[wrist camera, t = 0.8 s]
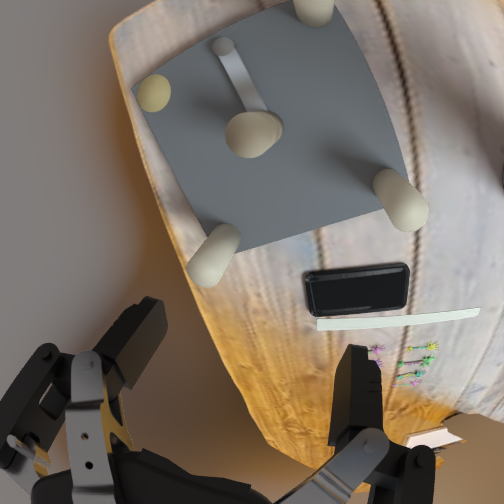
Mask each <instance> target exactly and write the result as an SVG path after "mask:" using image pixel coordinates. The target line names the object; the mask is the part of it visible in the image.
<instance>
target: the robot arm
mask: <svg viewBox="0 0 504 504" xmlns="http://www.w3.org/2000/svg"><path fill="white" fill-rule="evenodd" d="M503 184H504V170H503ZM167 328H168V323H167V318H166V313H165V307H164V303H163V301H162V300H159V299H156V298H152V297H149V296H146V297H144V298H143V300H142V301H141V302H140V303H139V304H138V305H137V304H133V305H132V306H130V307H128V308H127V309H125V310H124V311H123V313H122V314H121V315H120V316H119V317H118V319H117V320H116V321H115V322H114V323H113V326H111V327H110V328H109V330H108V331H107V332H106V333H105V335H104V336H103V337H102V338H101V340H100V341H99V342H98V344H97V345H96V346H95V347H94V348H93V349H92V350H86V351H82V352H80V353H78V354H77V355H71V354H66V353H61V352H60V351H59V349H58V348H57V346H56V345H54V344H52V343H45V344H43V345H41V346H40V347H38V348H37V350H36V351H35V352H34V354H33V355H32V356H31V358H30V359H29V360H28V362H27V363H26V364H25V366H24V367H23V368H22V370H21V371H20V373H19V374H18V375H17V377H16V378H15V380H14V381H13V383H12V384H11V386H10V387H9V389H8V390H7V392H6V393H5V395H4V396H3V398H2V399H1V401H0V469H2V470H3V471H5V472H6V473H7V474H8V475H9V476H10V477H11V478H12V479H13V480H14V481H15V482H16V483H17V484H18V485H20V486H21V487H22V488H23V489H24V490H25V491H26V492H27V493H28V494H30V495H31V504H272V503H271V502H270V501H269V500H268V499H267V498H266V497H265V496H263V495H262V494H261V493H259V492H257V491H256V490H253V489H251V485H250V484H246V483H242V482H237V481H233V480H230V479H226V478H219V477H206V476H196V475H192V474H189V473H188V472H186V471H185V470H183V469H182V468H180V467H179V466H177V465H176V464H174V463H173V462H171V461H170V460H169V459H167V458H164V457H162V456H160V455H158V454H155V453H153V452H151V451H148V450H146V449H144V448H143V449H142V451H141V452H139V451H134V447H133V443H132V440H131V437H130V435H129V433H128V431H127V428H126V423H125V418H124V412H123V406H122V399H121V393H120V391H121V389H122V387H123V386H124V387H126V388H128V389H130V390H131V389H132V388H133V386H134V385H135V383H136V381H137V380H138V378H139V377H140V375H141V373H142V372H143V370H144V369H145V367H146V365H147V364H148V362H149V360H150V359H151V357H152V356H153V354H154V353H155V351H156V350H157V348H158V346H159V345H160V343H161V342H162V340H163V338H164V337H165V335H166V332H167ZM50 383H51V384H52V386H51V387H50V389H49V391H48V392H47V394H46V395H45V397H44V398H43V400H42V401H41V403H40V405H39V401H40V399H41V397H42V396H43V394H44V393H45V391H46V389H47V388H48V386H49V385H50ZM381 383H382V381H381V370H380V368H379V366H378V364H377V362H376V361H374V360H368V349H367V347H366V346H360V345H353V344H349V345H348V346H347V348H346V350H345V352H344V354H343V356H342V358H341V360H340V362H339V364H338V366H337V369H336V373H335V380H334V392H333V403H332V413H331V422H330V431H329V438H328V446H335V451H334V455H333V456H332V457H331V458H329V459H328V460H327V461H326V462H325V463H324V464H323V465H322V466H321V467H319V468H318V469H317V470H316V471H315V472H314V473H312V474H311V475H310V476H309V477H308V478H306V479H305V480H304V481H303V482H301V483H300V484H299V485H298V486H296V487H295V488H293V489H292V490H291V491H289V492H288V493H286V494H285V495H284V496H282V497H281V498H280V499H278V500H277V501H275V502H274V503H273V504H346V503H347V502H348V500H349V499H350V495H351V494H352V493H353V491H354V490H355V489H356V488H357V487H358V486H359V485H360V484H361V483H362V482H365V483H368V484H371V487H370V493H369V498H368V503H367V504H432V503H433V494H434V483H435V464H436V458H435V454H434V452H433V450H432V449H431V448H430V447H428V446H426V445H418V446H415V447H413V448H412V449H411V448H407V447H404V446H401V445H399V444H396V443H394V442H392V441H391V440H389V439H388V437H387V435H386V434H385V433H384V430H383V405H382V385H381ZM65 419H66V432H67V444H68V452H69V460H70V467H71V469H69V470H66V471H62V472H59V473H55V474H51V475H48V474H47V468H49V467H50V466H51V461H50V459H49V455H48V453H47V452H48V450H49V448H50V447H51V445H52V443H53V441H54V439H55V437H56V435H57V434H58V432H59V430H60V428H61V426H62V425H63V423H64V421H65Z"/></svg>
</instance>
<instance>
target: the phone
mask: <svg viewBox="0 0 504 504" xmlns="http://www.w3.org/2000/svg"><path fill="white" fill-rule="evenodd" d="M409 276H410V270H409V268H408V266H407V265H406V264H404V263H399V264H390V265H380V266H371V267H361V268H351V269H340V270H329V271H318V272H310V273H309V274H307V276H306V280H305V284H306V290H307V296H308V303H309V310H310V314H311V315H313V316H315V317H323V316H337V315H349V314H360V313H371V312H380V311H389V310H398V309H402V308H403V307H404V306H405V305H406V303H407V295H408V286H409Z"/></svg>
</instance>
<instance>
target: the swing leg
mask: <svg viewBox="0 0 504 504" xmlns="http://www.w3.org/2000/svg"><path fill="white" fill-rule="evenodd" d="M212 50H213V52H214V53H215V54H216V55H218V56H219V58H220V60H221V62H222V64H223V65H224V67H225V69H226V71H227V73H228V75H229V77H230V79H231V81H232V83H233V84H234V86H235V88H236V90H237V92H238V94H239V96H240V98H241V100H242V102H243V104H244V106H245V108H246V110H247V112H245V113H241V114H238V115H236V116H235V117H233V118H232V119H231V120H230V121H229V123H228V125H227V127H226V130H225V139H226V143H227V145H228V147H229V148H230V150H231V151H232V152H234V153H235V154H236V155H238V156H240V157H244V158H254V157H258V156H260V155H262V154H263V153H264V152H265V151H267V150H268V149H269V148H270V147H271V146H272V145H273V144H275V143H276V142H277V141H278V140H279V139H280V138H281V137H282V135H283V132H284V124H283V121H282V119H281V118H280V117H279V116H278V115H277V114H276V113H274V112H271V111H268V110H267V108H266V106H265V104H264V102H263V100H262V98H261V96H260V94H259V92H258V90H257V88H256V86H255V84H254V82H253V80H252V78H251V76H250V74H249V72H248V70H247V68H246V67H245V65H244V63H243V61H242V59H241V57H240V55H239V54H238V52H237V50H236V45H235V43H234V42H233V41H232V40H231V39H229V38H227V37H221V38H218V39H217V40H215V41H214V43H213V45H212Z"/></svg>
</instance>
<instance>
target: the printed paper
mask: <svg viewBox="0 0 504 504" xmlns="http://www.w3.org/2000/svg"><path fill="white" fill-rule="evenodd" d="M480 309H481V307H480V308H473V309H465V310H457V311H448V312H439V313H428V314H417V315H404V316H389V317H370V318H343V319H317V331H325V330H351V329H369V328H383V327H395V326H406V325H416V324H425V323H433V322H441V321H449V320H455V319H462V318H468V317H474V316H478V314H479V311H480ZM430 342H431V341H430ZM438 342H439V341H438ZM436 343H437V342H436ZM436 343H435V344H436ZM435 344H433V345H432V343H431V345H430V346H429V345H428V347H427V346H426V347H416V348H415V347H414V348H412V347H411V346H410V347H411V348H409V347H408V350H409V352H410V351H411V349H419V348H420V349H423V348H424V349H426V348H427V349H426V350H432V349H435V350H437V349H436V348H438V347H434V346H436V345H439V344H436V345H435ZM370 348H371V347H370ZM374 348H375V346H374ZM379 348H380V347H379ZM379 348H375V349H373V348H372V349H373V351H368V353H371V352H374V353H377V354H378V352H380V351H384V350H382V349H384V348H385V347H384V348H382V349H379ZM433 356H434V355H433ZM433 356H432V357H433ZM432 357H430V358H426V359H423V357H422V360H424V361H419V362H414V363H405V364H404V361H403V360H402V361H403V362H402V363H401V362H399V363H401V364H399V368H400V366H401V367H402V366H403V365H412V364H417V363H418V364H421V363H424V365H421V366H423V367H424V366H425V365H426V364H428V365H430V364H429V363H430V362H431V361H432V360H435V359H434V358H435V357H434V358H432ZM431 358H432V359H431ZM371 359H372V358H371ZM373 360H374V359H373ZM379 360H380V359H379ZM379 360H378V361H379ZM378 361H376V362H377V363H379V362H378ZM380 362H382V361H380ZM380 365H382V364H378V366H380ZM421 366H420V367H421ZM380 367H383V366H380ZM397 367H398V366H397ZM423 367H422V368H423ZM420 369H421V368H420ZM424 371H425V370H424ZM421 373H422V372H421ZM421 373H419V372H417V374H409V375H405V376H399V377H398V379H401V378H402V377H407V376H410V375H416V377H419V376H420V377H421V375H423V374H421ZM423 373H424V372H423ZM425 373H426V372H425ZM425 373H424V374H425ZM381 375H382V374H381ZM416 377H415V378H416ZM398 379H397V380H398ZM420 381H421V380H420ZM418 383H420V382H419V381H418ZM415 384H417V382H416V380H415V381H414V382H413V381H412V382H411V384H402V385H415ZM394 386H397V385H396V384H395V385H394V384H393V387H394ZM398 386H400V385H398Z"/></svg>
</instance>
